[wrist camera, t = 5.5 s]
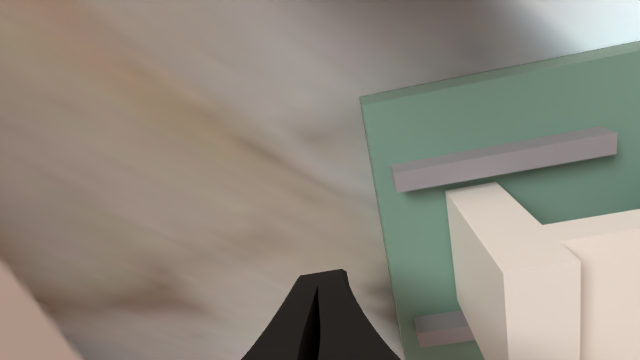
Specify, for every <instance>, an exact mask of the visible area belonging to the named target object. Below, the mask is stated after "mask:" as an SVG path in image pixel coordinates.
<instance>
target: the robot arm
mask: <svg viewBox="0 0 640 360" xmlns="http://www.w3.org/2000/svg"><path fill="white" fill-rule="evenodd" d="M241 360H401V359H400V358H399V357H398V356H397V355H396V354H395V353H394V352H393V351H392V350H391V349H390V347H389V346H388V345H387V344H386V343H385V342H384V340H383V339H382V338H381V337H380V335H379V334H378V333H377V332H376V330H375V329H374V327H373V326H372V325H371V323H370V322H369V320H368V319H367V317H366V316H365V314H364V313H363V311H362V309H361V308H360V306H359V304H358V302H357V301H356V299H355V297H354V295H353V293H352V291H351V288H350V286H349V282H348V277H347V272H346V271H344V270H343V269H338V270H332V271H326V272H320V273H314V274H307V275H301V276H300V277H299V278H298V279H297V281H296V282H295V284H294V286H293V287H292V289H291V291H290V292H289V294H288V296H287V297H286V299H285V301H284V302H283V304H282V305H281V307H280V308H279V310H278V311H277V313H276V314H275V316H274V317H273V319H272V320H271V322H270V323H269V325H268V326H267V328H266V329H265V330H264V332H263V333H262V334H261V336H260V337H259V338H258V340H257V341H256V342H255V344H254V345H253V346H252V347H251V349H250V350H249V351H248V352H247V353H246V355H245V356H244V357H243V358H242V359H241Z"/></svg>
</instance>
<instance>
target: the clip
mask: <svg viewBox="0 0 640 360" xmlns="http://www.w3.org/2000/svg"><path fill="white" fill-rule="evenodd" d="M445 194H446V203H447V212H448V221H449V230H450V239H451V248H452V257H453V266H454V275H455V285H456V294H457V301H458V303H459V305H460V307H461V309H462V312H463V314H464V316H465V318H466V320H467V322H468V325H469V327H470V329H471V331H472V333H473V335H474V337H475V340H476V342H477V344H478V346H479V348H480V350H481V353H482V355H483V357H484V359H485V360H640V209H636V210H630V211H624V212H618V213H612V214H606V215H600V216H594V217H588V218H582V219H576V220H570V221H564V222H558V223H552V224H546V225H542V224H540V223H539V222H538V221H537V220H536V219H535V218H534V217H533V216H532V215H531V214H530V213H529V212H528V211H527V210H526V209H524V208H523V207H522V206H521V205H520V204H519V203H518V202H517V201H516V200H515V199H514V198H513V197H512V196H511V195H510V194H508V193H507V192H506V191H505V190H504V189H503V188H502V187H501V186H500V185H499V184H498V183H497V182H491V183H486V184H480V185H474V186H469V187H463V188H457V189H452V190H446V191H445Z"/></svg>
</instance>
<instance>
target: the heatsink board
mask: <svg viewBox="0 0 640 360" xmlns="http://www.w3.org/2000/svg"><path fill="white" fill-rule="evenodd" d="M359 98H360V104H361V110H362V116H363V121H364V127H365V133H366V139H367V145H368V151H369V157H370V162H371V168H372V174H373V180H374V186H375V192H376V198H377V203H378V209H379V215H380V221H381V227H382V233H383V239H384V244H385V250H386V256H387V262H388V268H389V274H390V279H391V285H392V291H393V297H394V303H395V309H396V315H397V320H398V326H399V332H400V338H401V344H402V349H403V353H404V358H405V360H485V359H484V357H483V355H482V353H481V350H480V348H479V346H478V344H477V342H476V340H475V337H474V335H473V333H472V331H471V329H470V327H469V325H468V322H467V320H466V318H465V316H464V314H463V312H462V309H461V307H460V305H459V303H458V301H457V294H456V285H455V275H454V266H453V257H452V248H451V239H450V230H449V221H448V212H447V203H446V194H445V191H446V190H452V189H457V188H463V187H469V186H474V185H480V184H486V183H491V182H497V183H498V184H499V185H500V186H501V187H502V188H503V189H504V190H505V191H506V192H507V193H508V194H510V195H511V196H512V197H513V198H514V199H515V200H516V201H517V202H518V203H519V204H520V205H521V206H522V207H523V208H524V209H526V210H527V211H528V212H529V213H530V214H531V215H532V216H533V217H534V218H535V219H536V220H537V221H538V222H539V223H540V224H542V225H546V224H552V223H558V222H564V221H570V220H576V219H582V218H588V217H594V216H600V215H606V214H612V213H618V212H624V211H630V210H636V209H640V41H637V42H632V43H627V44H622V45H617V46H612V47H607V48H602V49H597V50H592V51H587V52H582V53H577V54H572V55H567V56H562V57H557V58H552V59H547V60H542V61H537V62H532V63H527V64H522V65H517V66H512V67H507V68H502V69H497V70H492V71H487V72H482V73H477V74H472V75H467V76H462V77H457V78H452V79H447V80H442V81H437V82H432V83H427V84H422V85H417V86H412V87H407V88H402V89H397V90H392V91H387V92H382V93H377V94H372V95H367V96H362V97H359Z"/></svg>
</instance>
